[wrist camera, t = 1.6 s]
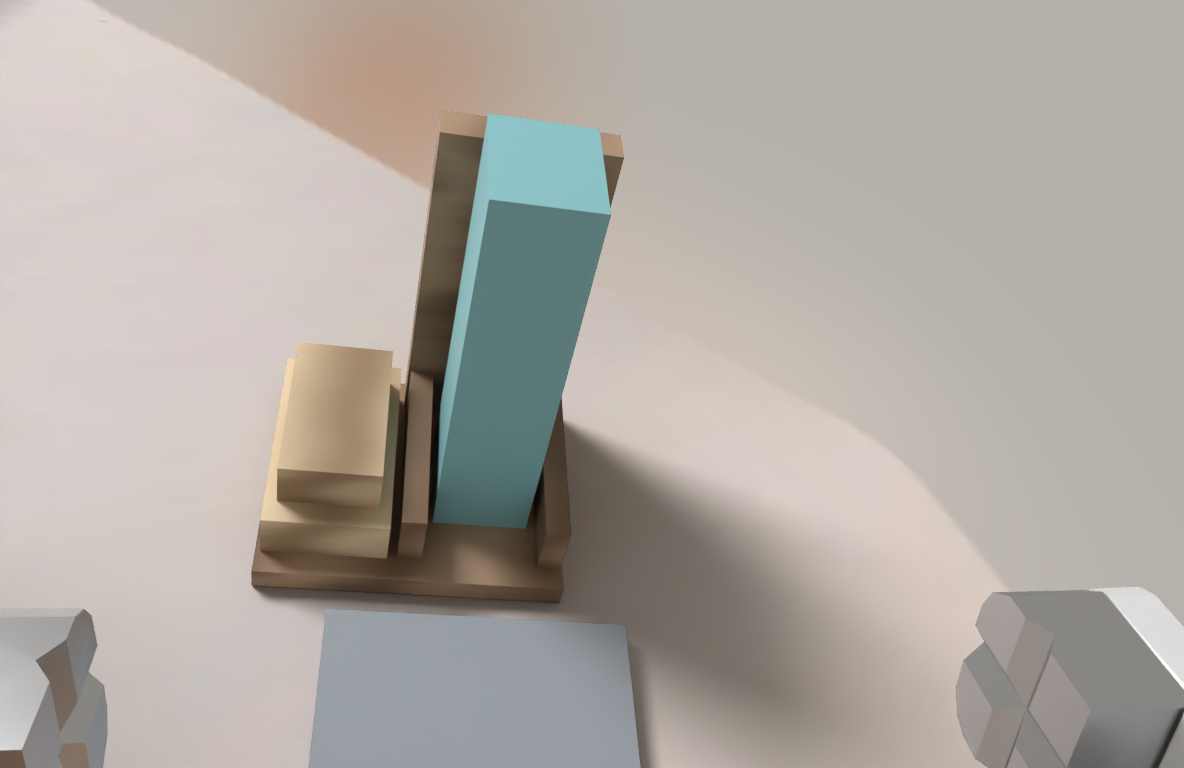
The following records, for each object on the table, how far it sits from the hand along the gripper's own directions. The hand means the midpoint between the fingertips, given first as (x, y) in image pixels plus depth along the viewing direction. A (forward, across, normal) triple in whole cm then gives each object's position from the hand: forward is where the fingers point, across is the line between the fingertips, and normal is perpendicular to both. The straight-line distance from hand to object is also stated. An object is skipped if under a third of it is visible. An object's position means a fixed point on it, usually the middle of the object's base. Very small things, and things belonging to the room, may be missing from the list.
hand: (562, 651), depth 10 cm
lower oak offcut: (+34, +4, +20) cm, 40 cm away
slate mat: (+21, -1, +26) cm, 33 cm away
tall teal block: (+34, -2, +21) cm, 40 cm away
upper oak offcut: (+33, +4, +18) cm, 38 cm away
